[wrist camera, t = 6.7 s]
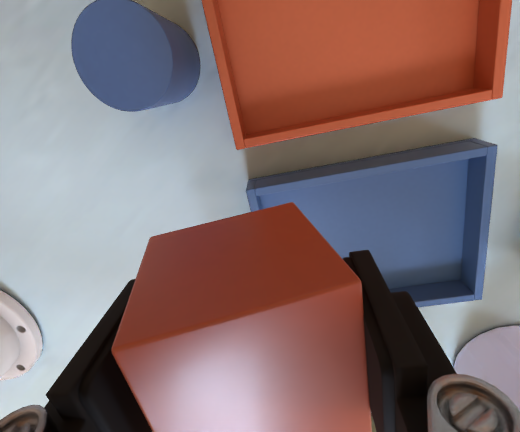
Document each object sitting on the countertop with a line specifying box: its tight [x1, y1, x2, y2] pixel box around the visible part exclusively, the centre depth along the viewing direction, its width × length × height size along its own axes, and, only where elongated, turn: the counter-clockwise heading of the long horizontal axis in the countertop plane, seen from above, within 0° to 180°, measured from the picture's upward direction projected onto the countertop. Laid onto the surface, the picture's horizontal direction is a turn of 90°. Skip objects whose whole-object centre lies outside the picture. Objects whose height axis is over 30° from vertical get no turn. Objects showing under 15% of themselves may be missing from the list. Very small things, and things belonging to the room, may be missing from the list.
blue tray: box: [246, 138, 497, 307], centre depth 24 cm, size 16×12×2 cm
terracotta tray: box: [202, 0, 512, 150], centre depth 18 cm, size 16×12×2 cm
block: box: [112, 202, 372, 432], centre depth 9 cm, size 5×5×5 cm
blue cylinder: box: [72, 0, 200, 111], centre depth 18 cm, size 5×5×6 cm
